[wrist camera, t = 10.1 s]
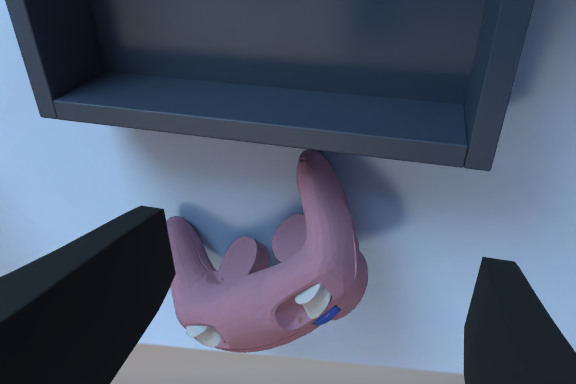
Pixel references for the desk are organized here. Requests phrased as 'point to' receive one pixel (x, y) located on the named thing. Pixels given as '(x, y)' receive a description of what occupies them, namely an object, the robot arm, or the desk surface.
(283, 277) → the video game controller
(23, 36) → the bin
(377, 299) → the desk surface
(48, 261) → the robot arm
